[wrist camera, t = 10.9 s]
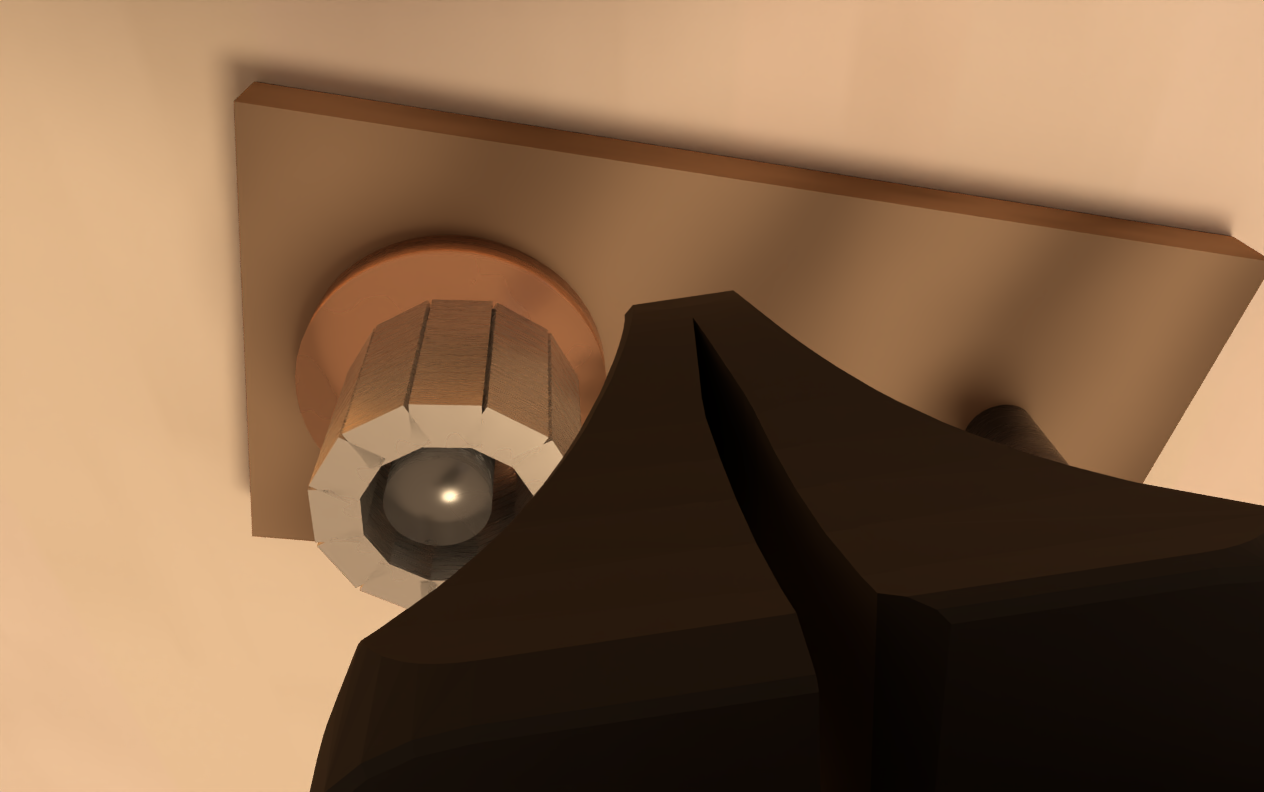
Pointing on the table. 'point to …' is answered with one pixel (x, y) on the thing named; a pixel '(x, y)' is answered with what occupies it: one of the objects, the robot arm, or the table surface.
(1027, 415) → the stand rod
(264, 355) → the walnut board
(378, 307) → the hub
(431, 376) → the steel collar
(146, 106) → the table surface
